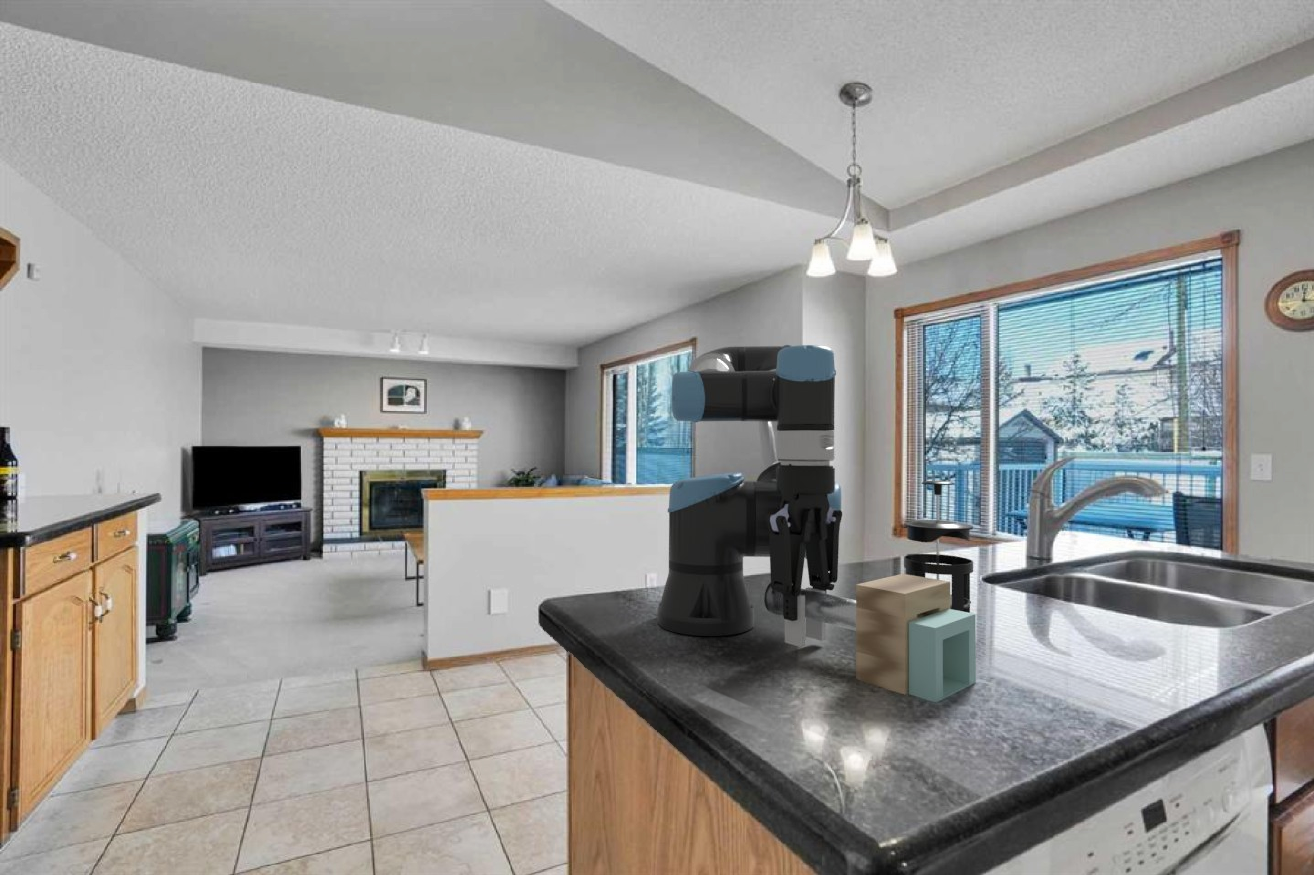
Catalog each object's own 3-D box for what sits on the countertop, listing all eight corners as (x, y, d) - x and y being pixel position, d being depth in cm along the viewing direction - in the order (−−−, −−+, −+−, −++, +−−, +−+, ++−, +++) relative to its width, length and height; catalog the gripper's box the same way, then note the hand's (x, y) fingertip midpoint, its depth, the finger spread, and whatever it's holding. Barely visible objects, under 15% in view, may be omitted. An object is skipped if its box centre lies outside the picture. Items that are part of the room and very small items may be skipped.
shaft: (764, 615, 88) (764, 582, 88) (786, 610, 91) (786, 577, 91) (910, 655, 72) (910, 613, 72) (931, 646, 75) (931, 606, 75)
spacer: (908, 706, 70) (908, 622, 70) (949, 686, 76) (949, 608, 76) (935, 715, 68) (935, 628, 68) (975, 694, 73) (975, 614, 73)
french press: (994, 654, 87) (993, 482, 87) (930, 659, 85) (930, 483, 85) (939, 630, 99) (939, 478, 99) (883, 633, 97) (882, 478, 97)
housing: (856, 690, 74) (856, 584, 74) (902, 670, 81) (902, 573, 81) (905, 706, 70) (905, 593, 70) (950, 684, 76) (950, 581, 76)
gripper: (787, 465, 78) (786, 661, 78) (866, 463, 89) (866, 635, 88) (741, 463, 84) (740, 646, 84) (820, 462, 94) (820, 624, 94)
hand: (805, 640), depth 86 cm, fingers closed on shaft, 4 cm apart
